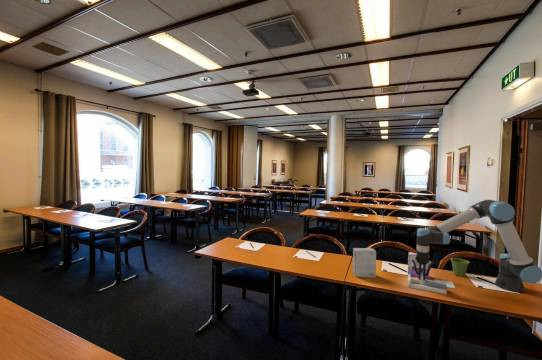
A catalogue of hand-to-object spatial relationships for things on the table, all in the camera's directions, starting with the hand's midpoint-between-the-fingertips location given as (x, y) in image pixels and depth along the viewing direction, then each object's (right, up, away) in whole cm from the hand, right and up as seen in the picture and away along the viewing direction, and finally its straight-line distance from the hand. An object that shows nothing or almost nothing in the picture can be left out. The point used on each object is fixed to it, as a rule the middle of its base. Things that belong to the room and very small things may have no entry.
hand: (421, 284), depth 179 cm
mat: (+19, -1, +4) cm, 19 cm away
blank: (+7, -2, -4) cm, 8 cm away
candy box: (+8, -1, +19) cm, 21 cm away
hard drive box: (-34, 0, +18) cm, 38 cm away
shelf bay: (+2, -1, -1) cm, 3 cm away
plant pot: (+42, -1, +22) cm, 47 cm away
